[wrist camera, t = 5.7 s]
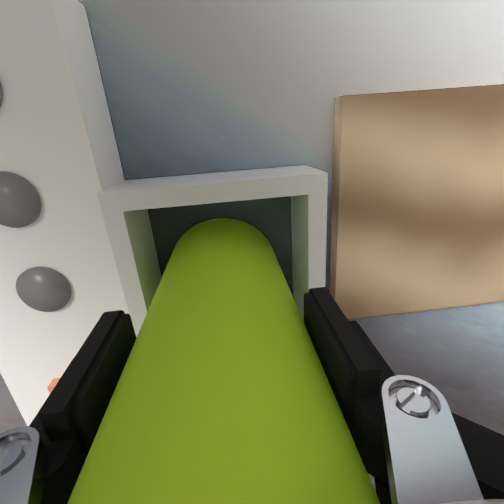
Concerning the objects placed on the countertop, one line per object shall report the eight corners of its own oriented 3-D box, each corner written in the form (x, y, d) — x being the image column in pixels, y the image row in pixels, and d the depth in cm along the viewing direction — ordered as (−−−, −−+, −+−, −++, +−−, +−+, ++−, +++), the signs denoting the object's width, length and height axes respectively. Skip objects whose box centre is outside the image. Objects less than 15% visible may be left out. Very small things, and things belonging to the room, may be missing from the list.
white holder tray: (-98, 16, 12) (-227, -32, 8) (304, -5, 13) (334, -56, 9) (61, 394, 19) (27, 449, 16) (306, 364, 20) (323, 409, 17)
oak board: (335, 98, 14) (342, 95, 13) (568, 81, 15) (591, 77, 14) (328, 311, 19) (334, 320, 18) (508, 291, 19) (522, 298, 18)
